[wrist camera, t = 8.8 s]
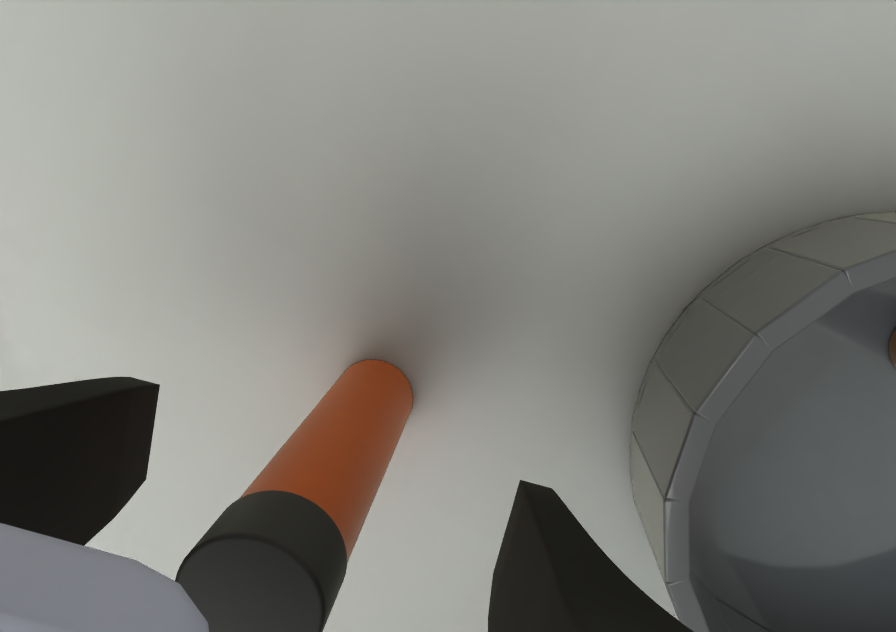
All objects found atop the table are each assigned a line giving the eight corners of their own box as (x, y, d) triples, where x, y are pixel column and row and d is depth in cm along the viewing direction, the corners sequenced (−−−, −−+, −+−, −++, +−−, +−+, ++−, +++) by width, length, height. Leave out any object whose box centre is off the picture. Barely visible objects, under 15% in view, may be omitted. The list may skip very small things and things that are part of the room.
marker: (405, 444, 17) (309, 691, 9) (327, 423, 17) (161, 650, 9) (423, 368, 17) (338, 558, 9) (343, 348, 17) (183, 516, 9)
